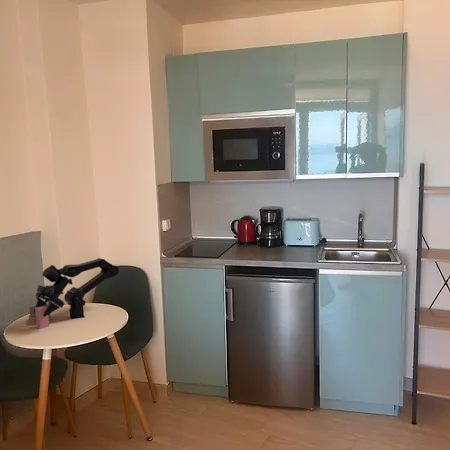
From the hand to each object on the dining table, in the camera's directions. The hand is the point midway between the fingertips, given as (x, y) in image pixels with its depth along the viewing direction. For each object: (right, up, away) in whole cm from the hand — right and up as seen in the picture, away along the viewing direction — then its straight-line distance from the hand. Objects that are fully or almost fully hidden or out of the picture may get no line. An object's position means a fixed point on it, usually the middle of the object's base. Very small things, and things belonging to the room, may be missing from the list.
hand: (39, 314), depth 226 cm
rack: (-4, -5, +11) cm, 13 cm away
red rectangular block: (+1, -7, +2) cm, 7 cm away
